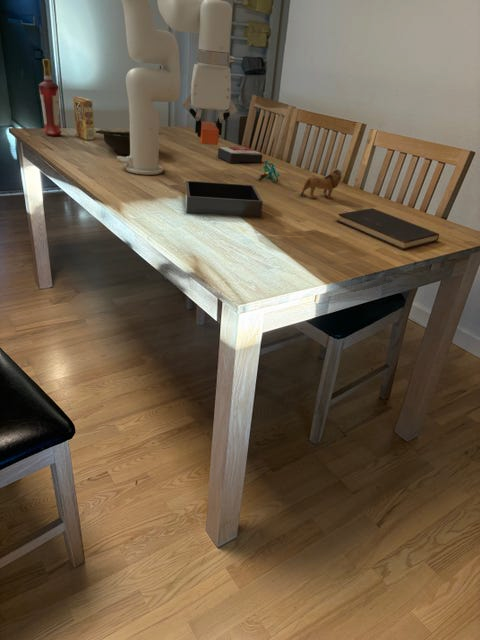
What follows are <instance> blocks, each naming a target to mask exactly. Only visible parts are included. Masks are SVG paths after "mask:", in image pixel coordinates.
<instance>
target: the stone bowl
mask: <svg viewBox="0 0 480 640" xmlns="http://www.w3.org/2000/svg"><path fill="white" fill-rule="evenodd" d="M95 133H96V134H100V135H103V141H104V143H105V145H108V146H109V147H110V148H113V149H114V150H115V153H116V154H117V155H119V156H121V155H122V156H123V155H124V156H129V155H130V130H119V129H117V130H109V129H106V130H105V129H104V130H103V129H98V130H94V134H95ZM161 134H162V133H160V132H159V136H160V135H161Z"/></svg>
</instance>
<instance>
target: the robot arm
mask: <svg viewBox="0 0 480 640" xmlns="http://www.w3.org/2000/svg"><path fill="white" fill-rule="evenodd" d="M120 1H121V4H122V7H123V13H124V24H125V36H126V46H127V52H128V56H129V58H130V59H131V60H132V61H133V62H136V63H140V64H149V65H159V66H160V68H153V67H142V66H141V67H139V66H138V67H133V68H131V69H130V70H128V72H127V73H126V76H125V87H126V93H127V100H128V111H129V113H128V114H129V115H128V116H129V131H130V155H126V156H121V155H119V156H118V155H117V156H116V162H117V163H119V164H125V170H126V171H127V172H129V173H131V174H137V175H144V176H151V175H152V176H153V175H159V174H162V173H164V167H162V166H161V165H159V159H160V158H159V157H160V156H159V155H160V153H159V152H160V151H159V150H160V135H159V133H160V118H159V117H160V115H159V113H158V110H157V109H156V107H155V105H154V104H153V103H154V102H159V103H160V102H161V103H163V102H164V103H165V102H167V103H172V102H176V101H177V100H178V99H179V97H180V94H181V85H182V84H181V67H180V51H179V43H178V41H177V38H176V36H175V35H174V34H173V33H172V32H170V31H168V30H165V29H156V28H155V25H154V24H155V23H154V13H153V9H152V7H151V5H150V3H149V1H148V0H120ZM156 1H157V8H158V12H159V14H160V16H161V18H162V19H163V20H164V22H165V23H166V25H167V26H168V27H169V28H170V29H172V30H173V31H175V32H181V33H188V34H195V35H196V34H197V35H198V48H197V49H198V50H197V63H194V64H193V69H192V76H191V85H190V93H189V95H188V96H187V97H186V99H185V100H184V102H183V103H182V107H183V108H184V109H185V110H186V111H187V112H188V113H189V114H190V115H191V116H192V117H193V119H194V120H195V123H194V124H195V126H194V134H197V135H196V136H197V137H198V138H199V137H201V124H202V122H203V121H202V118H201V116H202V113H203V112H202V111H203V110H213V111H216V112H217V113H216V114H217V119H216V121H215V125H216V127H217V128H218V130H219V137H218V140H219V139H220V136H222V131H223V123H224V122H225V121H226V120H227V119H228V118H229V117H230V116H232V115H235V113H237V111H238V110H237V107H236V105H235V104H234V101H233V100H232V97H231V95H232V75H231V68H230V67H229V64H231V63H235V56H232V55H231V54H230V43H231V31H232V21H233V20H232V19H233V18H232V17H233V6H232V4H231V3H230V2H229V1H226V0H156ZM190 104H191V105H190ZM194 108H196V110H195V109H194ZM224 111H225V112H224ZM201 121H202V122H201Z"/></svg>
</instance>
